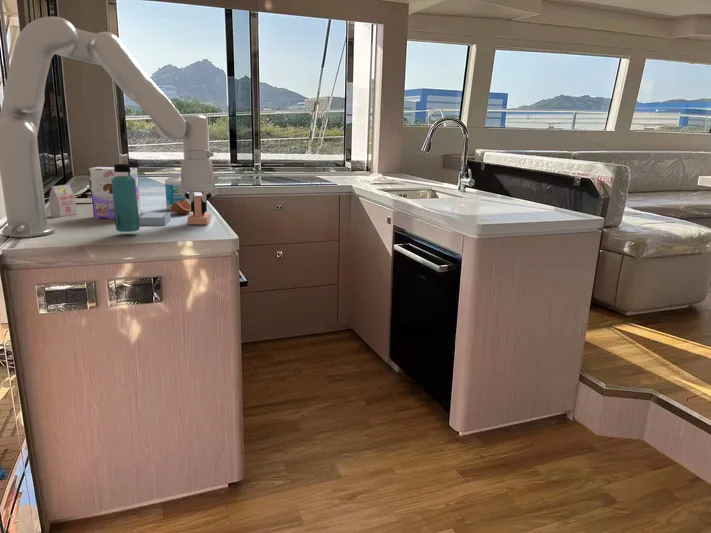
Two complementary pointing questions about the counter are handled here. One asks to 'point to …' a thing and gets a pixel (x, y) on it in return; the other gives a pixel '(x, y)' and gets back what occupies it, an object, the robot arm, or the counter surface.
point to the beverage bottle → (125, 200)
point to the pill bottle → (173, 189)
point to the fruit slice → (181, 207)
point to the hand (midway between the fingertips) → (199, 213)
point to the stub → (198, 213)
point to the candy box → (107, 190)
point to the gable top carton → (62, 201)
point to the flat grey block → (154, 218)
